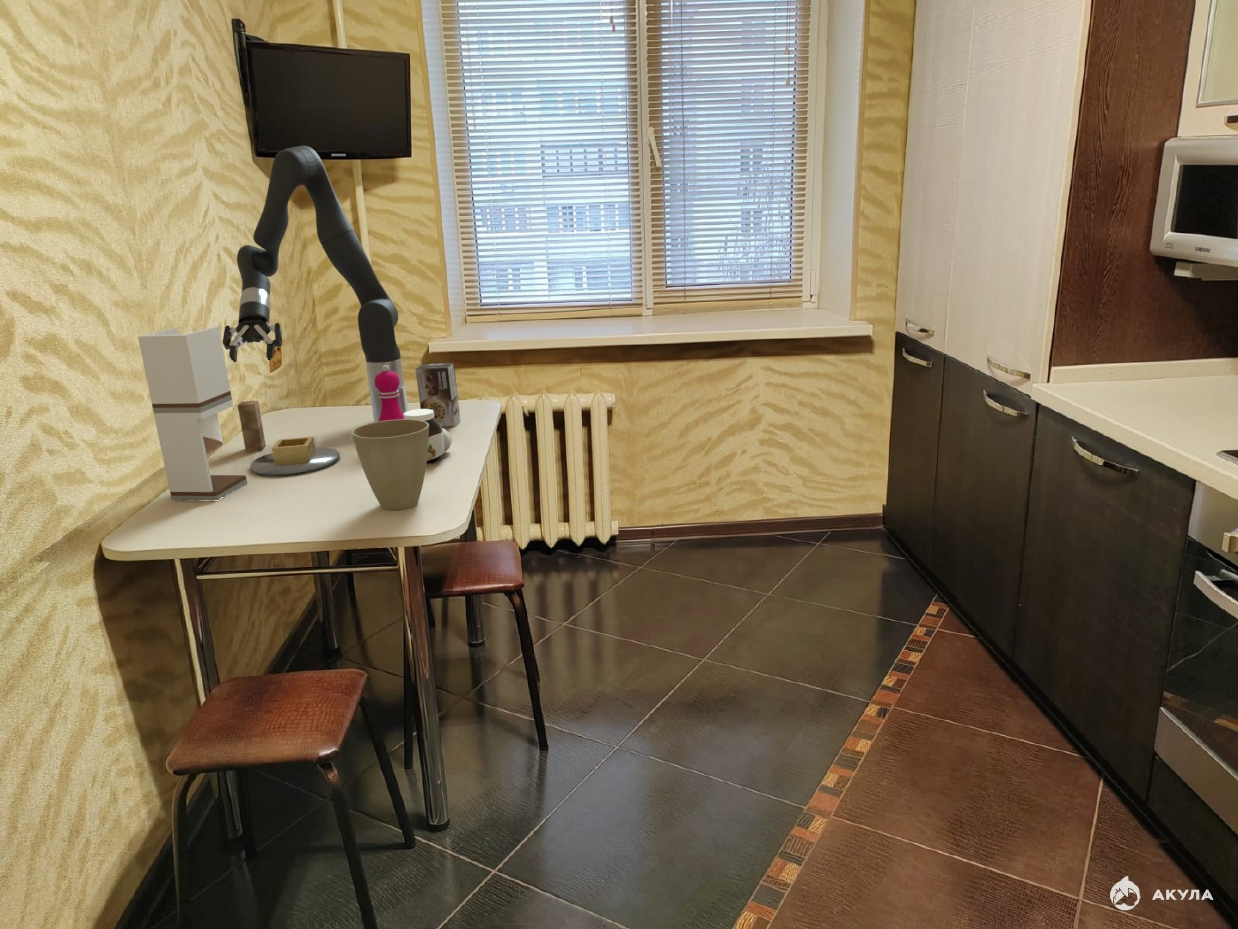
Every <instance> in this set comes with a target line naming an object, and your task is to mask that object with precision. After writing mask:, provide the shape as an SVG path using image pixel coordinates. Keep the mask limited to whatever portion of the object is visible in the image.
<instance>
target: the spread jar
mask: <svg viewBox="0 0 1238 929" xmlns="http://www.w3.org/2000/svg"><path fill="white" fill-rule="evenodd" d="M404 419H413V420H421V421H425V422H427V423H428V424H429V440H428V455H427V463H426V465H429V464H430V465H431V464H434V462H435V463H437V462H439V460H441V459H442V457H443V456H444V453H446V452H447V451H448V450H449V449H450V447H451V445H452V443H453V437H452V436H451V434H450V433H449V431H448V430H446V429H445V428H443V427H442V426H441V425H440V423H439V422H438V421H437V420H436V419H434V411H433V410H431V409H421V408H417V409H412V410H408V411H407V412H405V413H404ZM436 461H437V462H436Z"/></svg>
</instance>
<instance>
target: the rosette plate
mask: <svg viewBox="0 0 1238 929" xmlns="http://www.w3.org/2000/svg"><path fill="white" fill-rule="evenodd" d="M339 451H340V450H337V449H335V448H333V447H326V446H316V443H315V436H306V437H295V438H294V437H293V438H292V437H291V438H282V439H281V438H280V439H278V440H277V441H276V443H275V444H274V445H273V447H271V452H270V453H268V454H264V455H262V456H260V457H258V458H255V459H254V460H252V462H251V463H250V470H251V473H252V474H254V473H255V474H254V475H257V476H261V477H268V478H269V477H270V478H276V477H277V478H280V477H282V478H283V477H293V476H299V475H300V476H301V475H306V474H312V473H316V472H319V471H322V470H325V469H328V468H331V467H333V466H334V465H336V464H337V463H339V462H340V460H341V454H340V452H339ZM338 461H339V462H338ZM330 466H331V467H330Z"/></svg>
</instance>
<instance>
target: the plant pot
mask: <svg viewBox="0 0 1238 929" xmlns="http://www.w3.org/2000/svg"><path fill="white" fill-rule="evenodd" d="M351 436H352V440H353V443H354V446H355V450H356V453H357V456H358V459H359V462H360V465H361V468H362V470H363V473H364V475H365V477H366V480H367V482H368V485H369V486H370V489H371V491H372V492H373V495H374V496H375V498H376V500H377V502H378V504H379V506H380V507H381V508H382V509H384V510H387V511H388V510H389V511H400V510H406V509H408V508H409V509H410V508H412V507H415V506H416V505H417V504H418V503H419V500H420V496H421V493H422V489H423V485H424V482H425V481H424V480H425V476H426V475H425V474H426V470H427V469H426V468H427V464H426V463H427V455H428V440H429V424H428V423H427V422H425V421H421V420H413V419H397V420H387V421H380V422H374V421H373V422H371V423H367V424H363V425H361V426H358V427H355V428H354V429H352V430H351Z"/></svg>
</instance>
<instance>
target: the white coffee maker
mask: <svg viewBox="0 0 1238 929" xmlns="http://www.w3.org/2000/svg"><path fill="white" fill-rule="evenodd" d="M178 331H179V330H178V327H171V328H167V329H161V330H159V331H155V332H150V333H147V334H143V335H139V336H137V340H138V343H139V347H140V352H141V358H142V362H143V363H142V364H143V368H144V369H143V370H144V372H145V376H146V377H145V378H146V382H147V386H148V387H147V388H148V391H149V392H148V394H149V398H150V401H151V406H152V411H153V416H154V421H155V422H154V423H155V425H156V431H157V436H158V441H159V446H160V450H161V454H162V455H161V456H162V460H163V465H164V469H165V474H166V479H167V480H166V481H167V484H168V489H169V493H170V499H171V501H172V500H219V499H220V498H221V497H224V498H226V497H227V496H228V495H227V494H229V493H231V492H232V491H234V492H236V491H237V489H238V490H240V489H241V488H242V487H241V486H243V485H245V486H246V485H247V484H248V481H247V475H246V474H211V472H210V471H211V470H210V466H209V462H208V457H207V456H208V455H210V454H211V453H213V452H214V451H216V450H218V449H219V448H221V447H223V443H224V442H223V437H222V432H221V427H220V421H219V416H218V413H220V412H222V411H225V410H227V409H229V408H231V407H234V403H233V397H232V392H231V387H230V381H229V375H228V374H229V373H228V369H227V364H226V358H225V353H224V345H223V343H222V342H223V340H222V337H221V330H220V326H216V325H215V326H213V327H207V328H204V329H201V330H197V331H193V332H186V333H180V334H179V332H178ZM240 487H241V488H240ZM243 487H244V486H243ZM235 490H236V491H235ZM231 494H232V493H231ZM226 495H227V496H226ZM229 495H230V494H229ZM225 496H226V497H225ZM219 501H220V500H219Z"/></svg>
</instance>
